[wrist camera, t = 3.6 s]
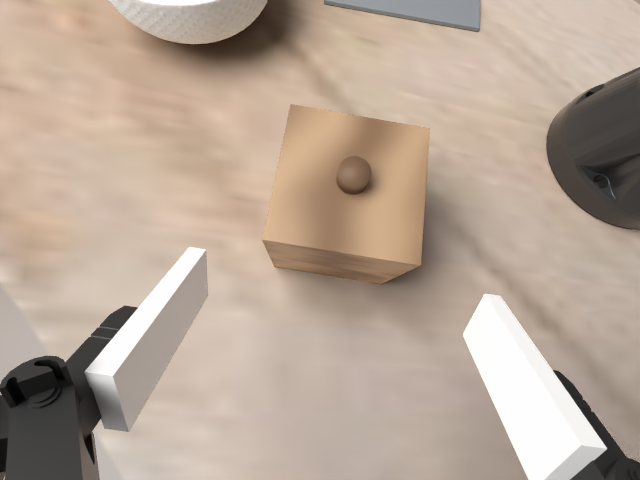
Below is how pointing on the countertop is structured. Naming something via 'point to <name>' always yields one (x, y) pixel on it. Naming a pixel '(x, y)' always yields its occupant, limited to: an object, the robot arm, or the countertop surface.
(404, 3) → the slate mat
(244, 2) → the cereal bowl
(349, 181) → the walnut cover
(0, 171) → the countertop surface
